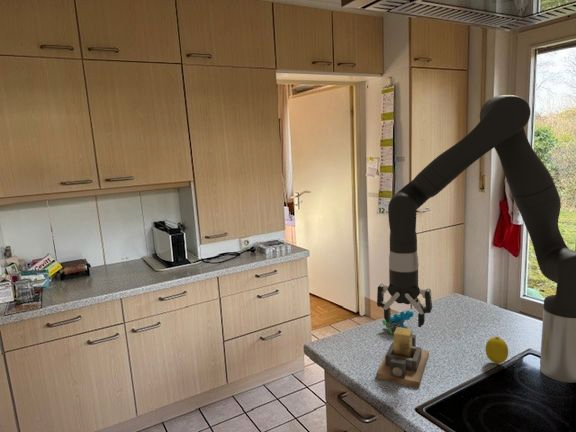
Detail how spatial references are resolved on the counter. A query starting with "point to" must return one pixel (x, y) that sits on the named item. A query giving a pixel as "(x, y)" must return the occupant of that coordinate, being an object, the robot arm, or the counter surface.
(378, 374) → the shaft rig
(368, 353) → the counter surface
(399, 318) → the blue-green animal figure
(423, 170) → the robot arm
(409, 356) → the block
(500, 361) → the lemon
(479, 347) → the counter surface
